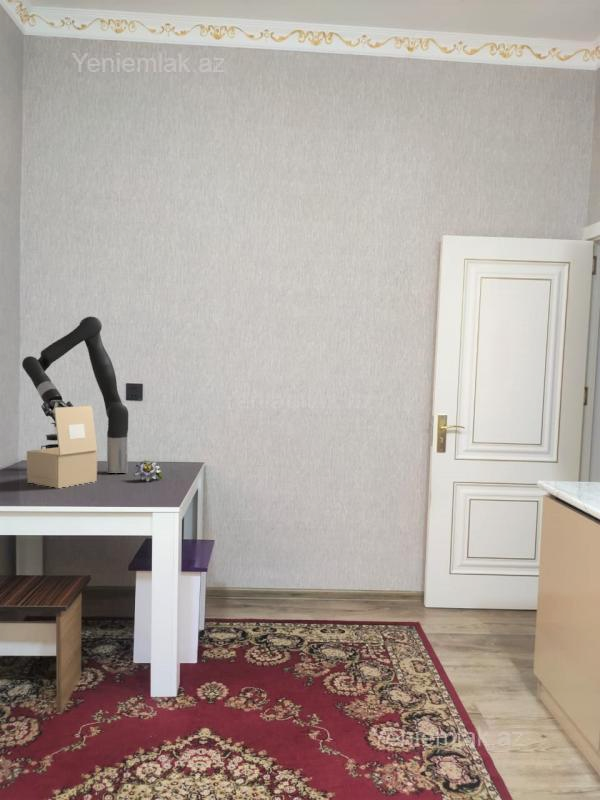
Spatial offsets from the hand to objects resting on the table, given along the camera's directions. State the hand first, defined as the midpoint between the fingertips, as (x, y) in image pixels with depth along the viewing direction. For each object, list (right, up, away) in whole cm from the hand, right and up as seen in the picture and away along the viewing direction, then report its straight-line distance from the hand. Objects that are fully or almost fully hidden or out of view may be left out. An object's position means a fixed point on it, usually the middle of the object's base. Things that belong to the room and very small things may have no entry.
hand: (66, 421), depth 279 cm
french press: (-19, -25, +37) cm, 48 cm away
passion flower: (+32, -27, +12) cm, 44 cm away
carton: (-3, -27, +3) cm, 27 cm away
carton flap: (+5, -3, -3) cm, 6 cm away
